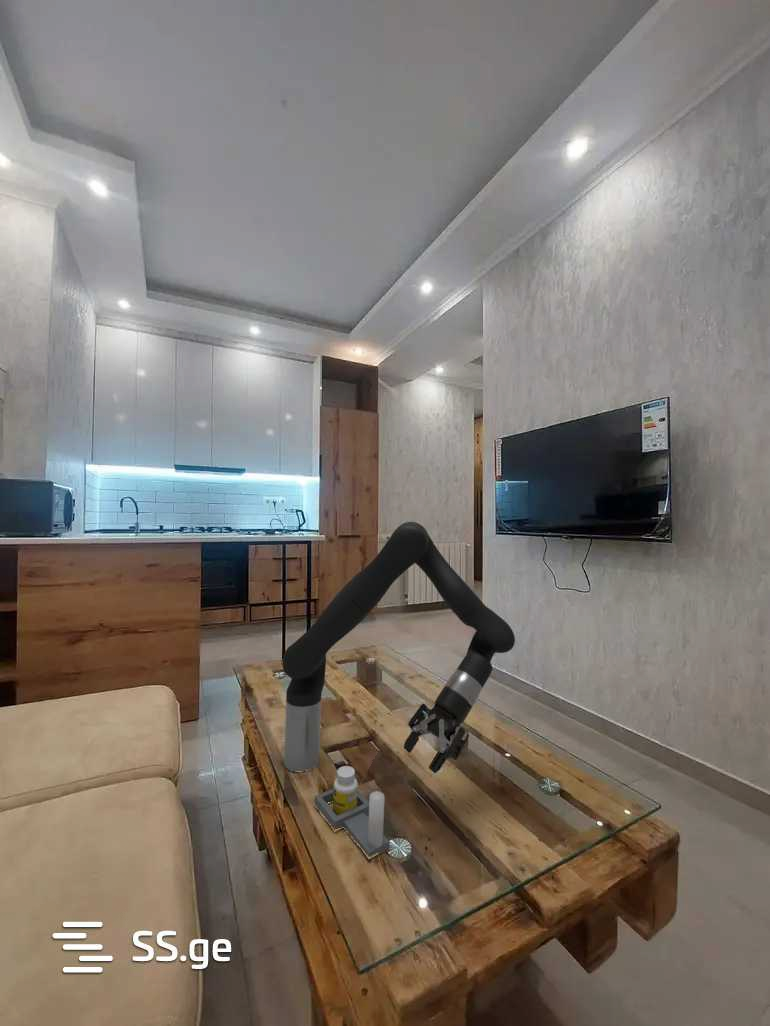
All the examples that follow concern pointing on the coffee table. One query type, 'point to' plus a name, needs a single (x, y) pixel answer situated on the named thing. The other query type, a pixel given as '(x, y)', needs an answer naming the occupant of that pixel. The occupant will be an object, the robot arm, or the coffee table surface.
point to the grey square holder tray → (359, 820)
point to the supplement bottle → (345, 790)
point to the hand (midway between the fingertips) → (418, 760)
